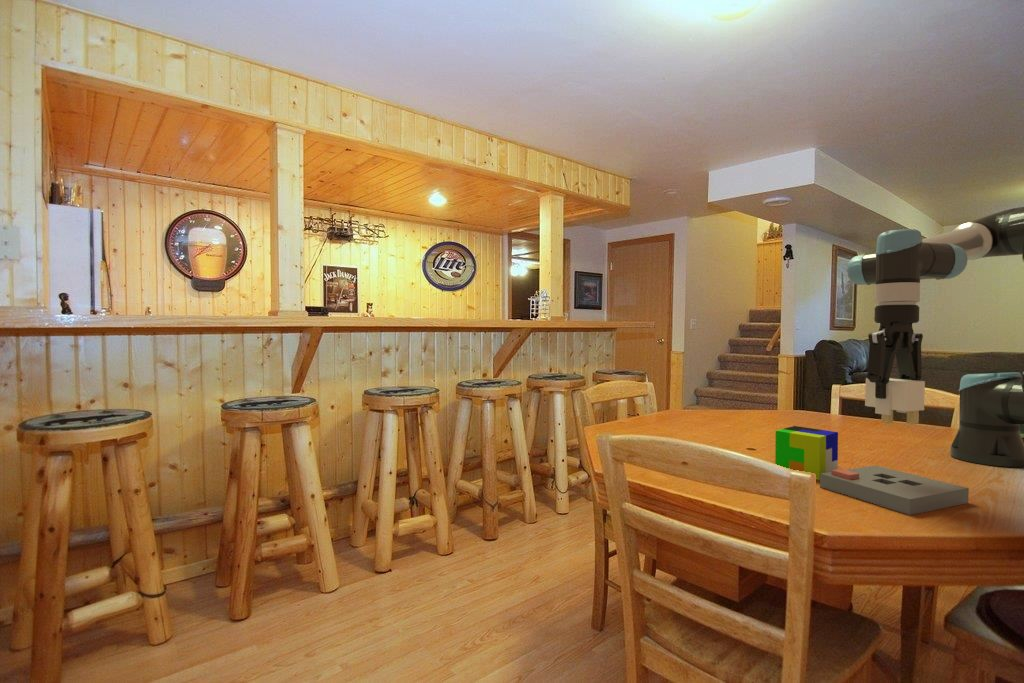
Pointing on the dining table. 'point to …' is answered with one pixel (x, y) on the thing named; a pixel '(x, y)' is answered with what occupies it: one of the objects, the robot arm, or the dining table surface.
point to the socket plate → (894, 489)
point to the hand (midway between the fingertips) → (893, 413)
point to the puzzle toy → (807, 449)
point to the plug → (900, 398)
